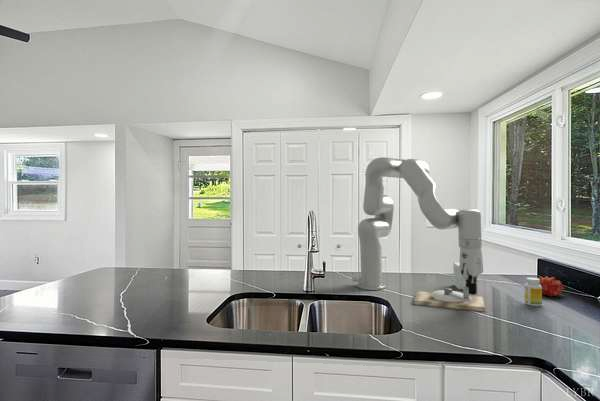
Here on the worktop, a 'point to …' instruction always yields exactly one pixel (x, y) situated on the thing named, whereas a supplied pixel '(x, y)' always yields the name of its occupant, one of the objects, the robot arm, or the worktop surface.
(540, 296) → the supplement bottle
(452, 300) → the dial
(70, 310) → the worktop surface
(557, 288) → the dragon fruit
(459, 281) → the small box
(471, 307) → the stand base
